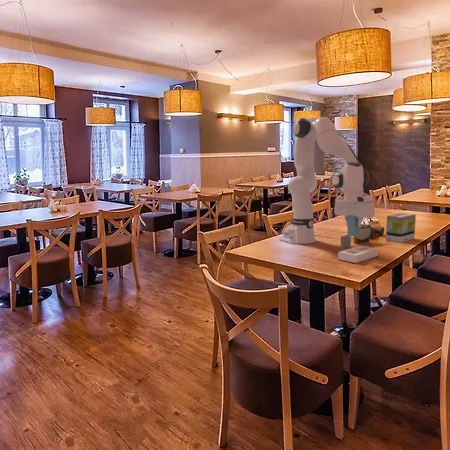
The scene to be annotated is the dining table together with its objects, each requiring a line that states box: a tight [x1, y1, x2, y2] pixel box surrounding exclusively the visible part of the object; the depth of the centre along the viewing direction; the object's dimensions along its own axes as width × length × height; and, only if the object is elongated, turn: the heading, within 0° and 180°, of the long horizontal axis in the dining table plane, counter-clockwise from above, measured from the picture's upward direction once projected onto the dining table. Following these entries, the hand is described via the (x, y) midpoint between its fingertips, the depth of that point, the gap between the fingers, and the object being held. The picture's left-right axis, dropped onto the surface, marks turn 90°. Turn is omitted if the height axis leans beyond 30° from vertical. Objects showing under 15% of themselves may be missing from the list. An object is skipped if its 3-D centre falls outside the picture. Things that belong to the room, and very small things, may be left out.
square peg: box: [347, 215, 360, 237], centre depth 198 cm, size 4×4×10 cm
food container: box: [353, 223, 372, 245], centre depth 237 cm, size 12×6×10 cm, turn 116°
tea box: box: [385, 212, 417, 244], centre depth 239 cm, size 15×10×15 cm
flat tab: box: [340, 234, 352, 251], centre depth 215 cm, size 2×6×9 cm, turn 128°
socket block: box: [337, 245, 379, 265], centre depth 204 cm, size 10×18×4 cm, turn 128°
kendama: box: [370, 226, 385, 240], centre depth 252 cm, size 6×10×20 cm
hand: (353, 225), depth 198 cm, fingers closed on square peg, 4 cm apart
